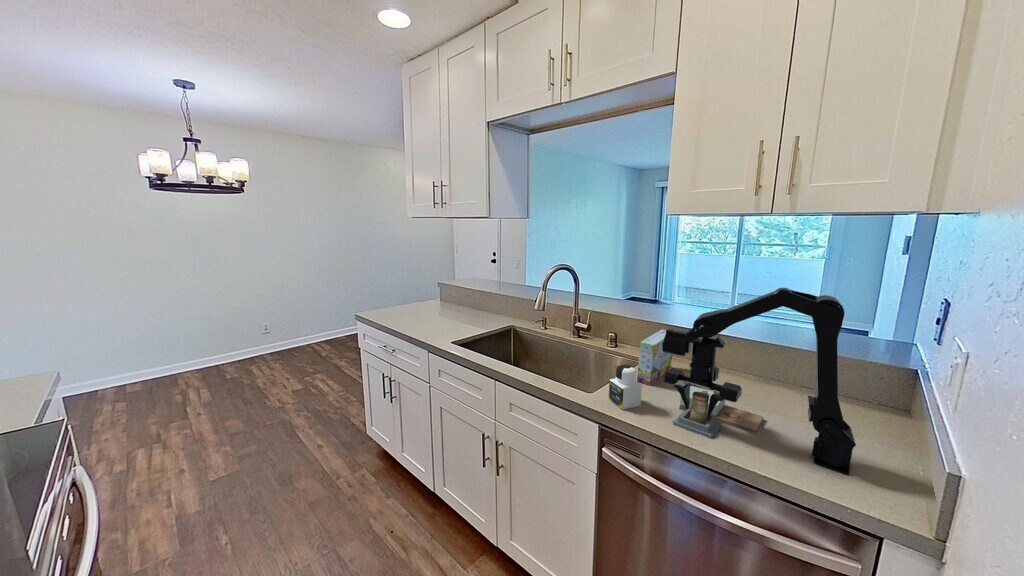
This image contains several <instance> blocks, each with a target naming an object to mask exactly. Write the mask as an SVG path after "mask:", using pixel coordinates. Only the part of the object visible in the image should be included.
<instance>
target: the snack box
mask: <svg viewBox="0 0 1024 576" xmlns="http://www.w3.org/2000/svg"><path fill="white" fill-rule="evenodd" d="M666 330H667V329H660V330H658V331H656V332H655V333H653V334H651V335H650V336H648V337H646V338H645V339H642V340H641V341H640V343H639V344H640V345H639V353H638V354H639V355H638V365H637V374H636V381H637V382H638V383H640V384H643V385H647V386H651V385H653V384H654V383H655V382H656V381H657V380H659V379H660V378H661V377H663V376H664V373H666V372H667V371H668V370H670V369H671V368H672V364H673V363H672V360H673V354H670V353H665V352H663V350H662V345H663V342H664V338H665V335H666Z"/></svg>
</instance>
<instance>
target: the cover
mask: <svg viewBox="0 0 1024 576" xmlns="http://www.w3.org/2000/svg"><path fill="white" fill-rule="evenodd" d="M693 392H703V393H706V394H707V395H709V401H708V408H709V402H710V397H711V395H712V394H713V393H714V392H713V391H712V390H711V391H710V390H708V389H707V390H706V389H705V388H701V387H698V386H697V387H696V386H694V385H693V386H692V385H691V386H690V405H689V407H690V408H691V405H692V396H693ZM679 402H680V404H679V406H680V405H683V406H685V404H684V402H683V399H682V397H681V396H680V401H679ZM724 405H726V400H723V401H718V402H717V404H716V406H715V408H714V410H713V412H712V414H711V415H714V416H716V415H717V414H718V413H719V411H720V410H721V409H722V408H723V406H724ZM708 408H707V413H708Z"/></svg>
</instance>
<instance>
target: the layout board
mask: <svg viewBox="0 0 1024 576" xmlns="http://www.w3.org/2000/svg"><path fill="white" fill-rule="evenodd" d="M689 408H690V407H689ZM690 409H691V408H690ZM679 410H682V411H684V410H685V411H686V410H687V409H686V407H685V406H683V405H680V404H679ZM707 414H708V413H707ZM712 416H714V415H712ZM715 417H716V421H718V422H721V424H725V425H727V426H730V427H734V428H736V429H740V430H743V431H746V432H748V433H752V434H754V435H756V433H757V432H758V429H759V428H760V426H761V424H762V423H763V421H764V416H763V415H760V414H757V413H753V412H750V411H746V410H743V409H741V408H740V409H739V408H736V407H733V406H730V405H727V404H725V405H724V406H723V408H722V409H721V410H720V411H719V413H718V414H717V415H716V416H715Z"/></svg>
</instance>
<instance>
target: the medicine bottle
mask: <svg viewBox="0 0 1024 576" xmlns="http://www.w3.org/2000/svg"><path fill="white" fill-rule="evenodd" d="M615 369H616V370H615V378H610V379H609V386H608V387H609V389H608V400H609V401H610V402H611V403H613V404H614V405H615V406H617V407H618V408H619V409H621V410H622V411H623V410H627V409H632V408H636V407H640V406H641V405H642V392H643V391H642V389H643V385H642V383H641V382H637V372H638V369H637V368H636V367H634V366H632V365H630V364H620V365H618V366H616V368H615Z"/></svg>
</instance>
